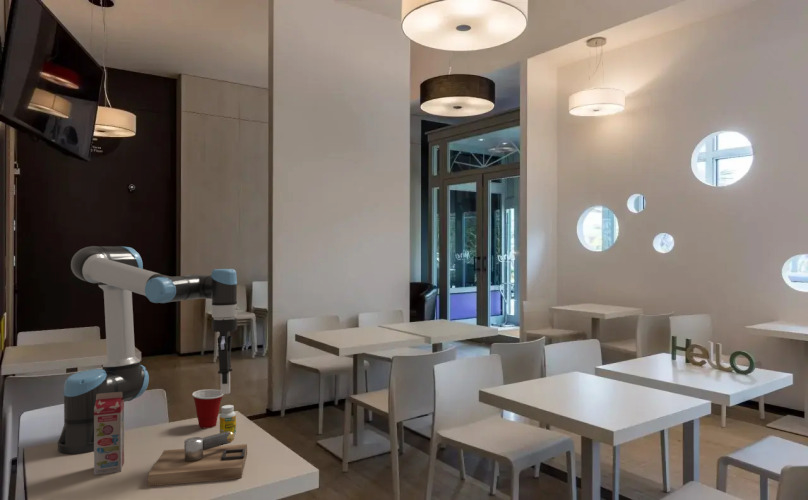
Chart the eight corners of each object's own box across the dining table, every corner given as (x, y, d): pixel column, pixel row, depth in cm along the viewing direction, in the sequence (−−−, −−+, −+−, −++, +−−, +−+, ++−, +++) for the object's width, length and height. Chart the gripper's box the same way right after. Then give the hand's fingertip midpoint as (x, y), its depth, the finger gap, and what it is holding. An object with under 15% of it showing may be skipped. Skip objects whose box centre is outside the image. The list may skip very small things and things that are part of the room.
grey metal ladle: (189, 462, 149) (189, 444, 149) (181, 457, 153) (181, 440, 153) (238, 447, 160) (238, 431, 160) (229, 443, 164) (229, 427, 164)
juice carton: (98, 466, 155) (98, 391, 155) (124, 463, 157) (123, 388, 157) (94, 475, 149) (93, 396, 149) (120, 471, 151) (120, 394, 151)
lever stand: (164, 460, 159) (164, 447, 159) (247, 453, 164) (247, 441, 164) (148, 486, 142) (148, 471, 142) (241, 477, 147) (241, 464, 147)
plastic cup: (213, 431, 185) (213, 397, 185) (185, 429, 187) (185, 395, 187) (229, 421, 195) (229, 389, 195) (203, 420, 197) (203, 387, 197)
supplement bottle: (231, 430, 186) (231, 403, 186) (238, 434, 182) (238, 406, 182) (216, 434, 182) (216, 406, 182) (223, 438, 178) (223, 409, 178)
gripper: (234, 320, 161) (235, 398, 161) (239, 315, 174) (239, 387, 173) (208, 321, 159) (209, 399, 159) (215, 316, 172) (215, 388, 172)
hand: (225, 393), depth 166 cm, fingers closed
